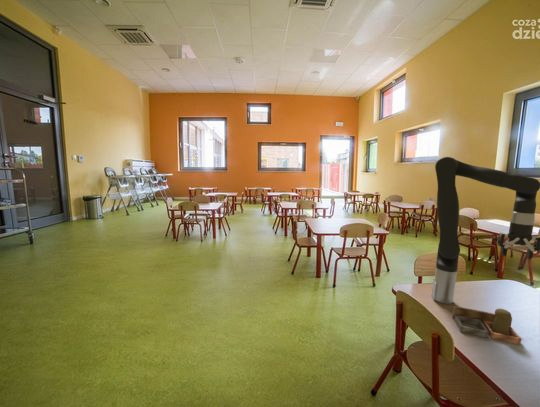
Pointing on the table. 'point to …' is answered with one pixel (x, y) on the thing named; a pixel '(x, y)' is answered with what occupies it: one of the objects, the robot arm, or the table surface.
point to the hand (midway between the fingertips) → (516, 257)
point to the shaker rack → (482, 324)
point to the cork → (501, 322)
